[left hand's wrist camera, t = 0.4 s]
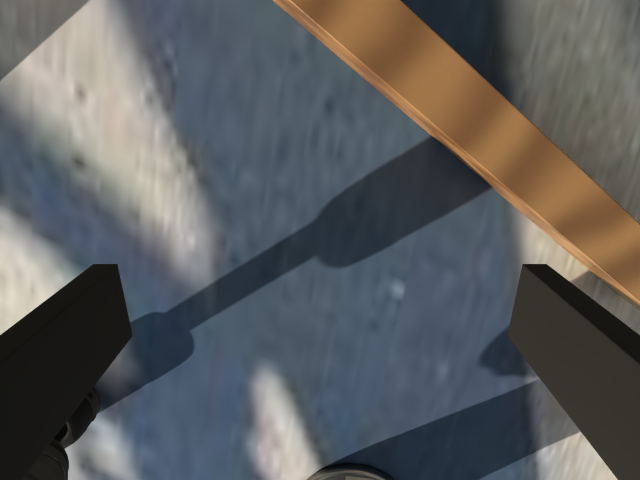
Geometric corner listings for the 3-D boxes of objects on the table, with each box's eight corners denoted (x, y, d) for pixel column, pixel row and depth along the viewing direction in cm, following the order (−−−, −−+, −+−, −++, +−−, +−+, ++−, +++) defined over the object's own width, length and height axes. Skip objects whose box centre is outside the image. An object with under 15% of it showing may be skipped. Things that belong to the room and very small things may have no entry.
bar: (655, 266, 42) (725, 303, 35) (619, 296, 43) (680, 338, 36) (-25, -352, 25) (-164, -530, 18) (-47, -272, 27) (-185, -408, 19)
